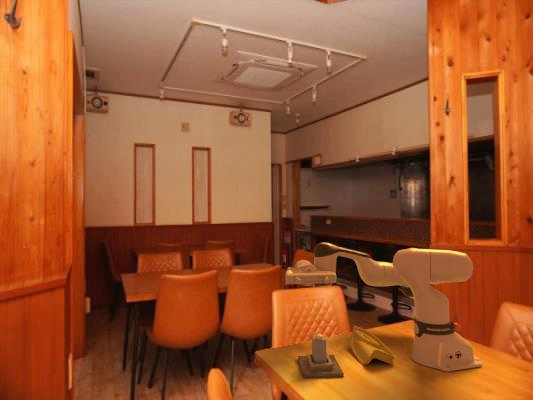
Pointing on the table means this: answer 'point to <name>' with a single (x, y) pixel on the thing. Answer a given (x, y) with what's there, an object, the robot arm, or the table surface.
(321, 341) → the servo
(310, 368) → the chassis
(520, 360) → the table surface
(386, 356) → the plastic component
